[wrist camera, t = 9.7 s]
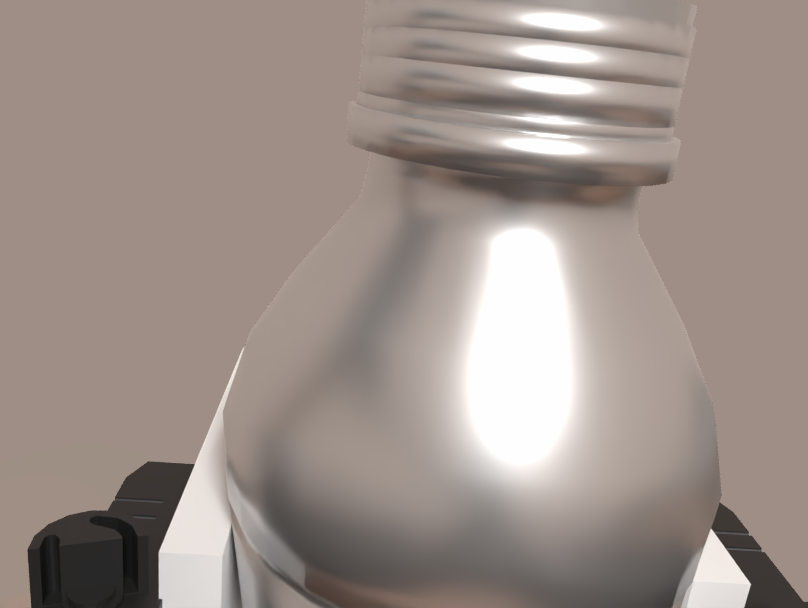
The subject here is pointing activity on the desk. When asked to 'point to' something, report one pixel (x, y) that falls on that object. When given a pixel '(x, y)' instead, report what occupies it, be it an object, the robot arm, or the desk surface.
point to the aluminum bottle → (484, 332)
